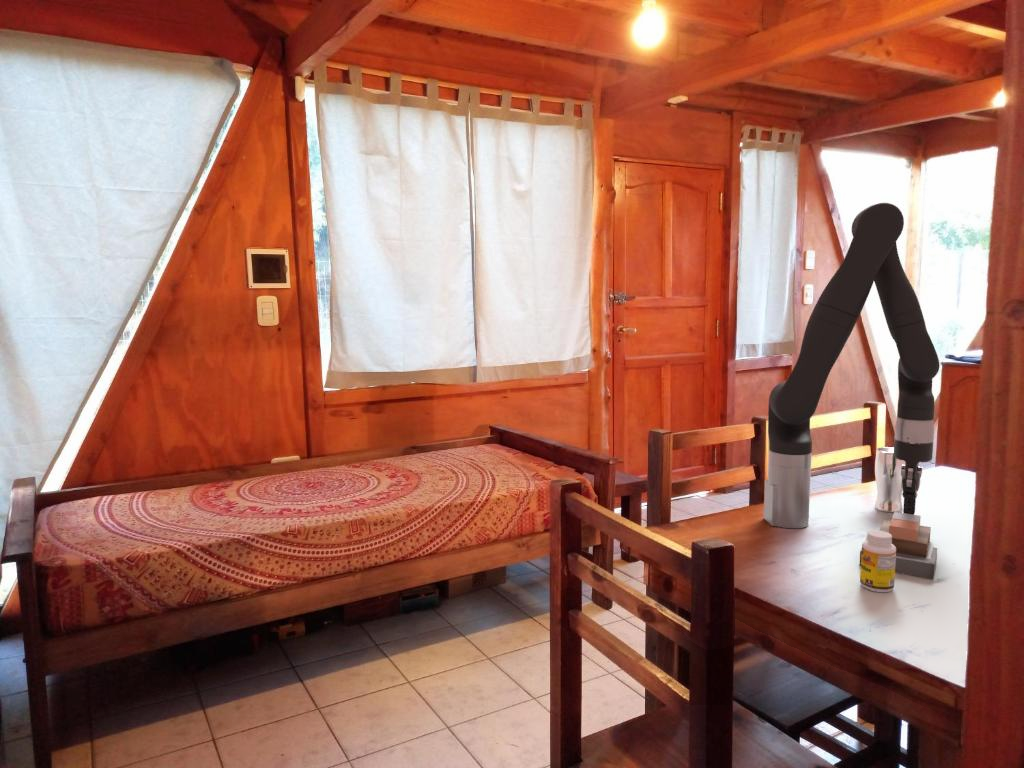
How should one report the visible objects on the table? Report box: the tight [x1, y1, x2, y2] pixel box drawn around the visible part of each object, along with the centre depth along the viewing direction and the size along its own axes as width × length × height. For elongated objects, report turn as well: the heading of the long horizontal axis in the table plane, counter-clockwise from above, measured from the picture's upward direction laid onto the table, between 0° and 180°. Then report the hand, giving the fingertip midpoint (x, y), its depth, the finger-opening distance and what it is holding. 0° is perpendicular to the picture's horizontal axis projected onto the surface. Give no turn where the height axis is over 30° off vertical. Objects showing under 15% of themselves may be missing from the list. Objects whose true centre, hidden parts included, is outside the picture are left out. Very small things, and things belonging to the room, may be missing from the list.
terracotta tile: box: [889, 518, 919, 541], centre depth 146 cm, size 5×5×2 cm
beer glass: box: [874, 446, 906, 514], centre depth 172 cm, size 7×7×15 cm
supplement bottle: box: [859, 529, 896, 593], centre depth 128 cm, size 6×6×10 cm
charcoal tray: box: [859, 536, 938, 580], centre depth 139 cm, size 10×13×3 cm
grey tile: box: [891, 512, 921, 532], centre depth 151 cm, size 5×5×2 cm
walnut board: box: [879, 519, 931, 558], centre depth 149 cm, size 12×9×3 cm
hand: (908, 513), depth 157 cm, fingers closed
